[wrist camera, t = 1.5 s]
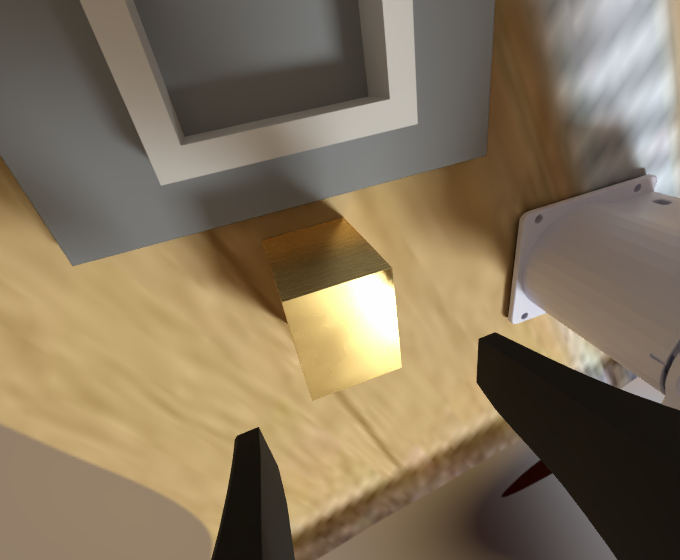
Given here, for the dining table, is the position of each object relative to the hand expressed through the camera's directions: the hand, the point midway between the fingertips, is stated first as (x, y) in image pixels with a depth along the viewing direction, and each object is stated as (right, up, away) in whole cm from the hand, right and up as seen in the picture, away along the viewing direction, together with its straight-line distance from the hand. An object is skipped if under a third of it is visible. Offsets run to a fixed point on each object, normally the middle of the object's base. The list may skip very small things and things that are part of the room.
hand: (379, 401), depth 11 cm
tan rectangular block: (-2, +4, +7) cm, 9 cm away
